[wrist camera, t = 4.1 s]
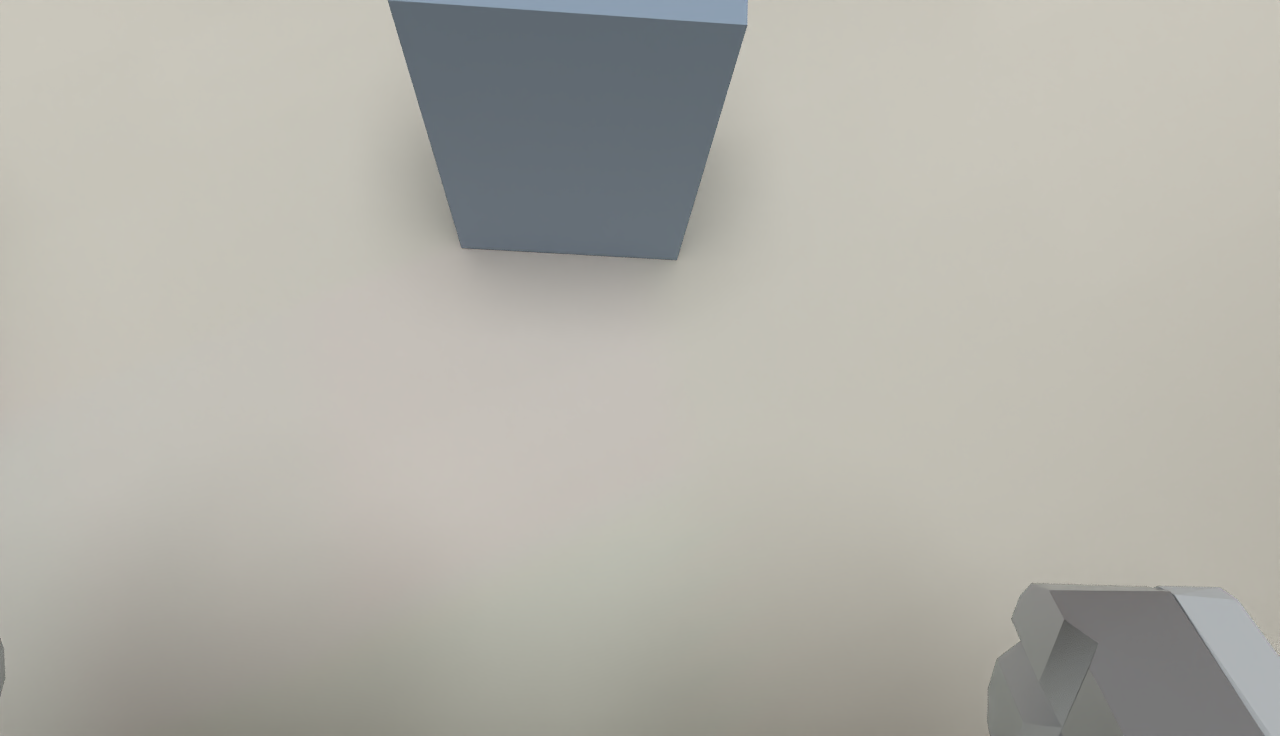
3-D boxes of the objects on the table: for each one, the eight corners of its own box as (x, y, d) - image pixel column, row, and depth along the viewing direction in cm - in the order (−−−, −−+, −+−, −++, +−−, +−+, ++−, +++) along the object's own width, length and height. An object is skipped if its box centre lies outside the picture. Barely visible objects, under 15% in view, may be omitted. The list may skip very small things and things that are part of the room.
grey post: (680, 129, 23) (750, -177, 14) (676, 259, 22) (746, 24, 13) (472, 115, 22) (409, -205, 14) (461, 247, 22) (387, 0, 13)
